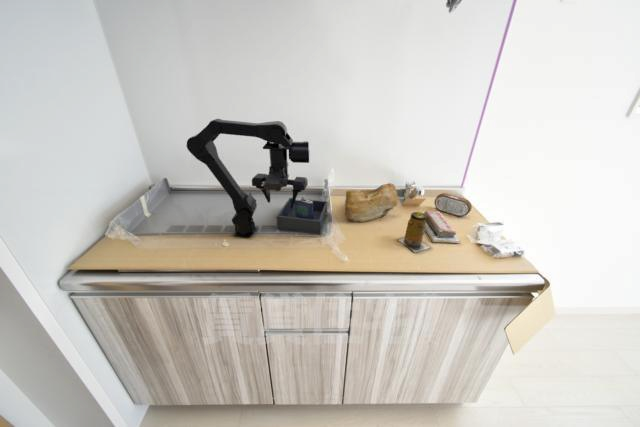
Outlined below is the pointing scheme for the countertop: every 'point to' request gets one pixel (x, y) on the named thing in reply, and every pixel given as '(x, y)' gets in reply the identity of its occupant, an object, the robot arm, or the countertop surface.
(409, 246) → the condiment
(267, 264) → the countertop surface
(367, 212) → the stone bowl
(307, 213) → the flask
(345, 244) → the countertop surface
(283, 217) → the bin
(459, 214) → the tin
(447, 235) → the packaged product
